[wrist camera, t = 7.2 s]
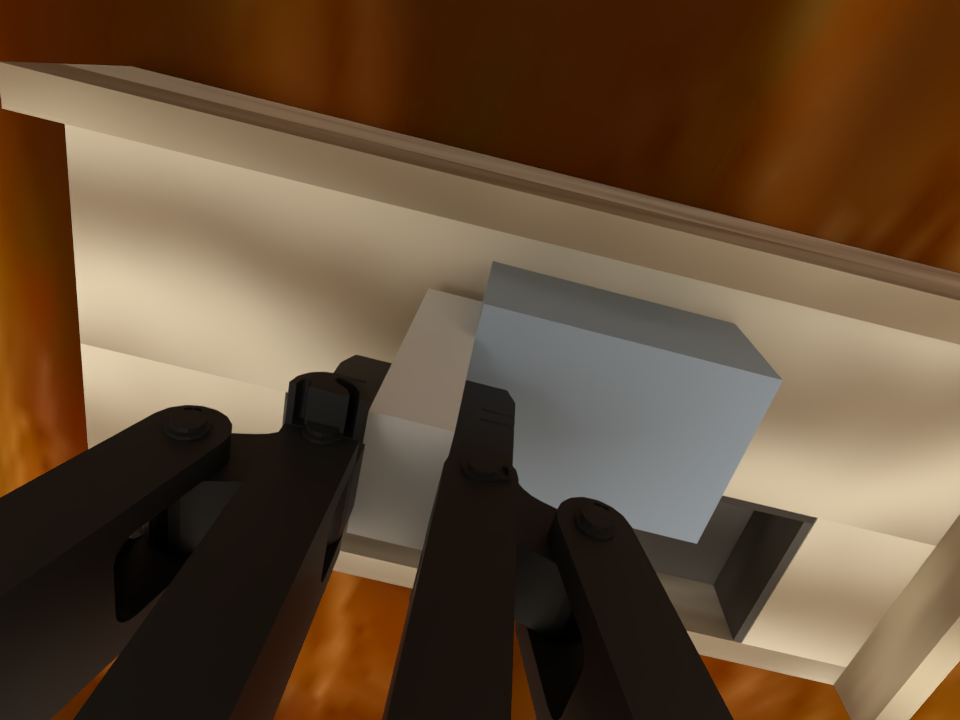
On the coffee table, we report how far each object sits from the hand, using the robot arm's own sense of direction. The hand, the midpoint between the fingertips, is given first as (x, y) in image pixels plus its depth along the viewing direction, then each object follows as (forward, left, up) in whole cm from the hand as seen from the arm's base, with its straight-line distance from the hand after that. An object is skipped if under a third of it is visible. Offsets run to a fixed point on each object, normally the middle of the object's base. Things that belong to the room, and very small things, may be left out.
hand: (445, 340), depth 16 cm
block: (0, +4, -1) cm, 4 cm away
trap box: (+3, +3, -4) cm, 6 cm away
